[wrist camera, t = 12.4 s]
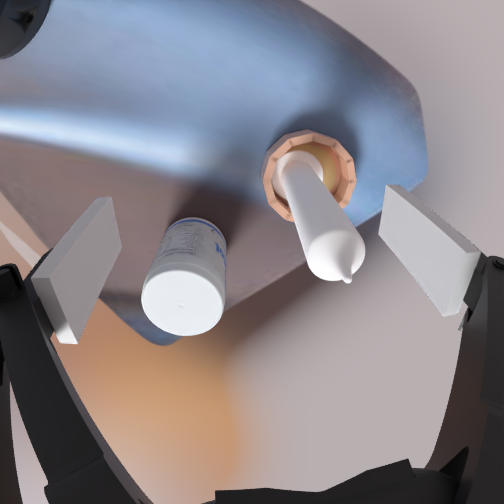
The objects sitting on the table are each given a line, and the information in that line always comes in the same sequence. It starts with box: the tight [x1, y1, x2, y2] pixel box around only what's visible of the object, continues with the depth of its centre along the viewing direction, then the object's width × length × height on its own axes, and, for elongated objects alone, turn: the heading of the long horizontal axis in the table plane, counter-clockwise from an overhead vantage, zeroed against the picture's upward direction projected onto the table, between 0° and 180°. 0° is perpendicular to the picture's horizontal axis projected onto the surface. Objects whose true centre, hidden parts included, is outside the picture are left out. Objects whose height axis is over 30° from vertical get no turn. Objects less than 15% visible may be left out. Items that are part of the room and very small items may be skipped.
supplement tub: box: [141, 217, 226, 336], centre depth 41 cm, size 10×10×15 cm
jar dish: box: [260, 129, 357, 222], centre depth 41 cm, size 12×12×4 cm
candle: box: [271, 150, 365, 283], centre depth 31 cm, size 7×7×25 cm
